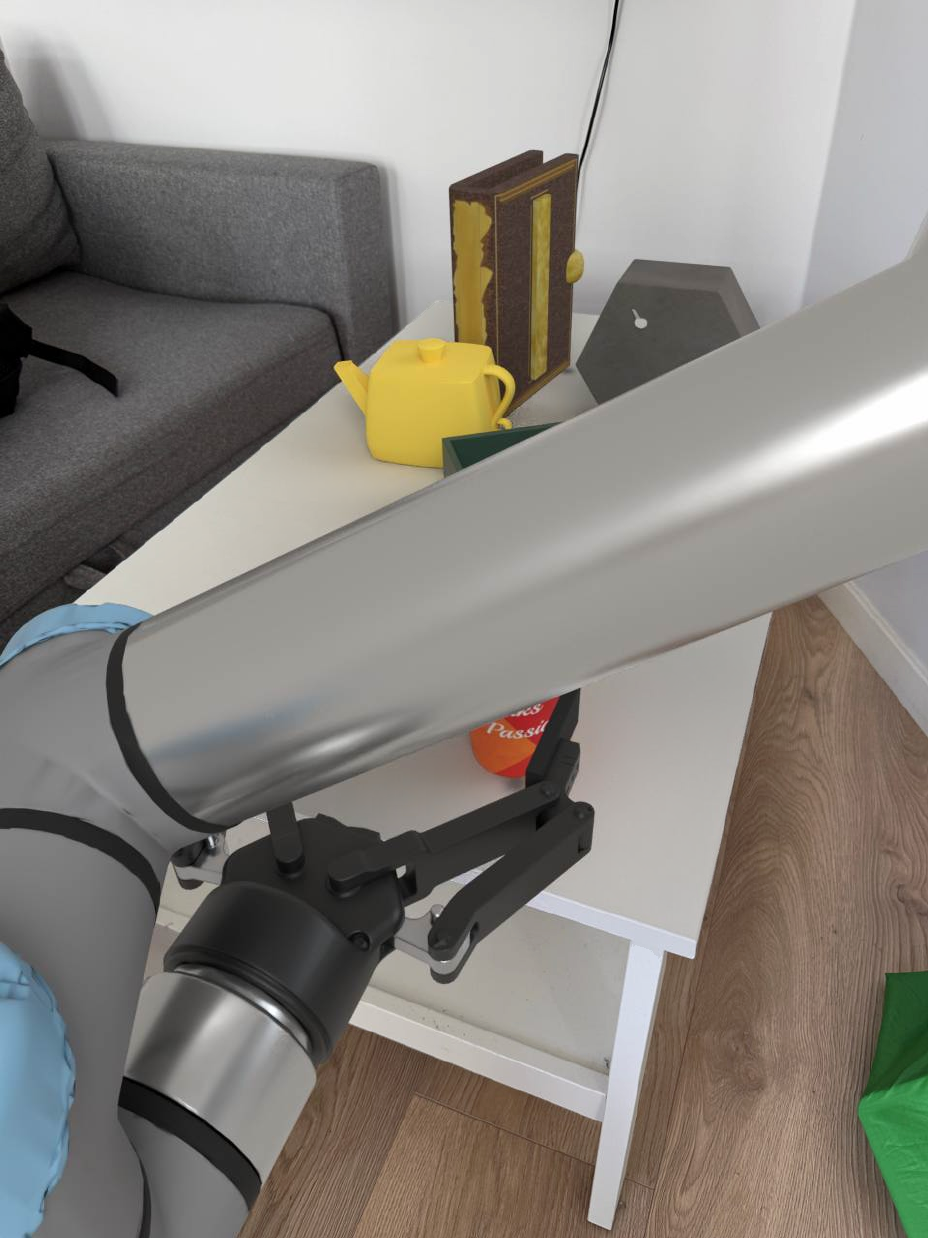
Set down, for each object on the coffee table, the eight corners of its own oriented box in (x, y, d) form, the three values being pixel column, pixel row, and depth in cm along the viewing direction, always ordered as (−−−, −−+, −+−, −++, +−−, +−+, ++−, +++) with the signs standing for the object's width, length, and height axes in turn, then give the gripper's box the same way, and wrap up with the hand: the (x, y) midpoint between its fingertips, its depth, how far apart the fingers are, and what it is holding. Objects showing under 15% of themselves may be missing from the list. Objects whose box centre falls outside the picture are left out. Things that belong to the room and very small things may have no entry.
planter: (791, 390, 100) (707, 217, 93) (783, 421, 95) (693, 239, 87) (654, 448, 110) (569, 296, 103) (640, 478, 105) (549, 320, 97)
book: (505, 426, 106) (504, 196, 91) (443, 411, 110) (432, 187, 94) (587, 358, 121) (598, 149, 105) (530, 346, 124) (533, 143, 109)
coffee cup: (444, 780, 64) (433, 614, 55) (471, 700, 71) (465, 539, 61) (562, 799, 63) (571, 631, 53) (579, 716, 69) (590, 552, 60)
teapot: (326, 460, 101) (312, 358, 94) (362, 410, 111) (352, 314, 103) (503, 477, 97) (502, 371, 90) (525, 424, 106) (526, 325, 99)
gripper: (17, 965, 41) (268, 669, 56) (547, 1194, 33) (672, 779, 48) (-46, 863, 36) (246, 569, 52) (554, 1102, 29) (690, 674, 44)
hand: (453, 670), depth 50 cm, fingers open, 13 cm apart
